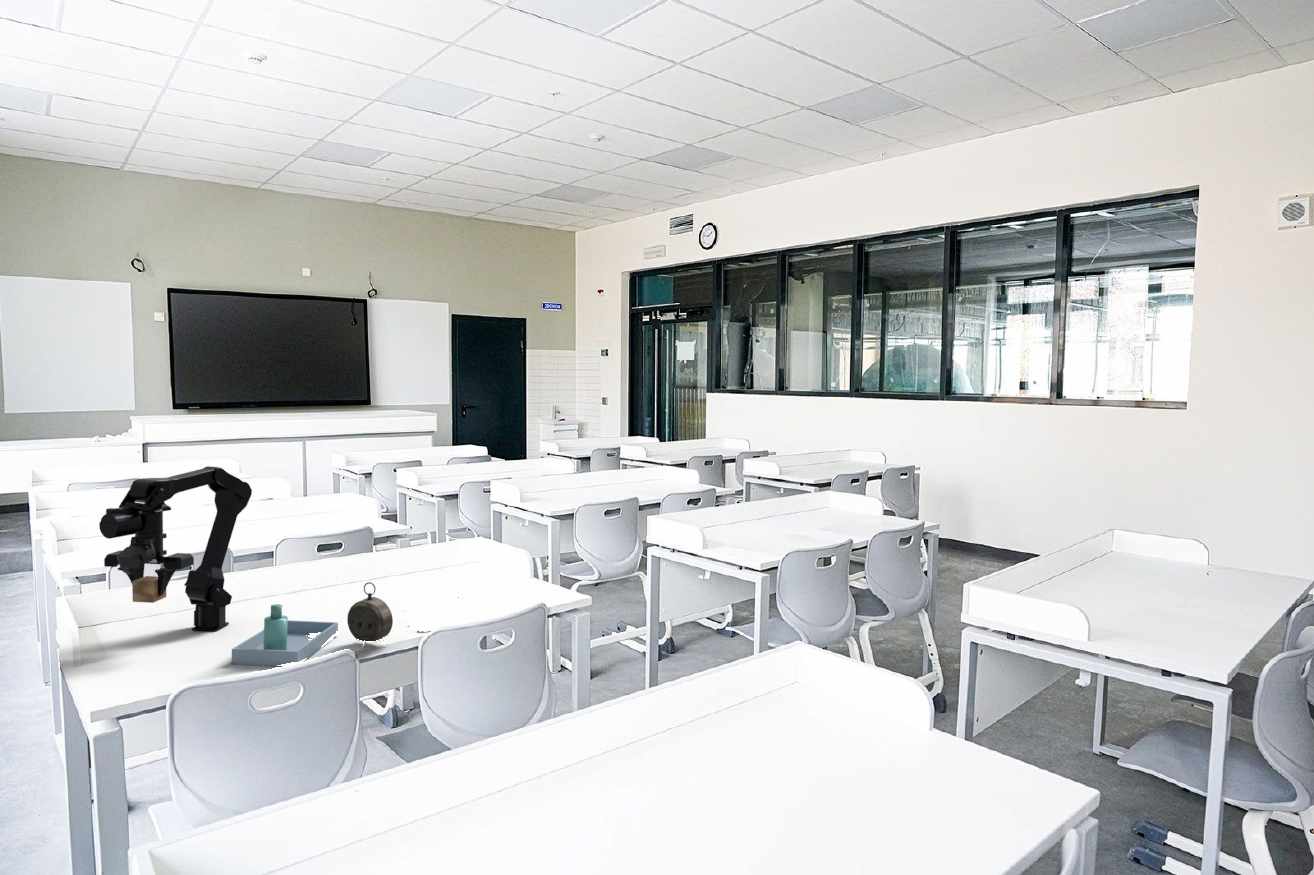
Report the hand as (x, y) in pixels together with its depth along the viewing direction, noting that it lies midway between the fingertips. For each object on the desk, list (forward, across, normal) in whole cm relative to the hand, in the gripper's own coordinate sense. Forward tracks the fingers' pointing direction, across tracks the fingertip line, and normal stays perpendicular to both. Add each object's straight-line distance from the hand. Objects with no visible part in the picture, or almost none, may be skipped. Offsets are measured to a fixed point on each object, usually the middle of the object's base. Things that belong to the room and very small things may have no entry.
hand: (149, 595), depth 197 cm
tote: (+13, +32, +3) cm, 35 cm away
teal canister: (+12, +32, -3) cm, 35 cm away
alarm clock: (+13, +50, +8) cm, 53 cm away
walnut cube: (+1, 0, 0) cm, 1 cm away
